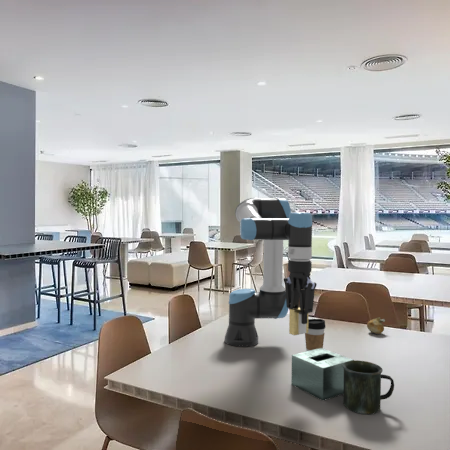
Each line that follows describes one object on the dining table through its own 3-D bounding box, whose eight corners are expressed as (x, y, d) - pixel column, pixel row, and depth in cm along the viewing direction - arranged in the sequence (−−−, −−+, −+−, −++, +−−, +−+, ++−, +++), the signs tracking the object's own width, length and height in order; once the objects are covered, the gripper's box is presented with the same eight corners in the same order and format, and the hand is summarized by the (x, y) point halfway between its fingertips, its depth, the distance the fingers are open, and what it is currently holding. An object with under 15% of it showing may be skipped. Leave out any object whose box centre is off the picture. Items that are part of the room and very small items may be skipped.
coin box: (291, 384, 134) (291, 354, 134) (321, 376, 141) (321, 347, 141) (322, 400, 122) (323, 368, 122) (353, 390, 130) (353, 359, 130)
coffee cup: (325, 361, 156) (326, 323, 155) (303, 360, 157) (303, 322, 157) (324, 354, 164) (325, 318, 164) (303, 353, 166) (304, 317, 165)
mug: (339, 397, 125) (340, 359, 125) (389, 401, 122) (390, 362, 122) (343, 413, 114) (344, 372, 114) (398, 419, 111) (398, 376, 111)
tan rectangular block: (289, 333, 130) (289, 308, 130) (303, 331, 133) (303, 306, 133) (294, 335, 128) (294, 310, 128) (308, 332, 131) (308, 308, 131)
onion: (369, 330, 201) (369, 314, 201) (385, 333, 197) (386, 316, 197) (364, 333, 195) (365, 317, 195) (381, 336, 191) (382, 319, 190)
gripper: (275, 258, 135) (274, 328, 135) (307, 262, 121) (306, 340, 122) (292, 257, 138) (291, 325, 139) (325, 261, 125) (324, 336, 126)
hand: (298, 332), depth 130 cm, fingers closed on tan rectangular block, 2 cm apart
